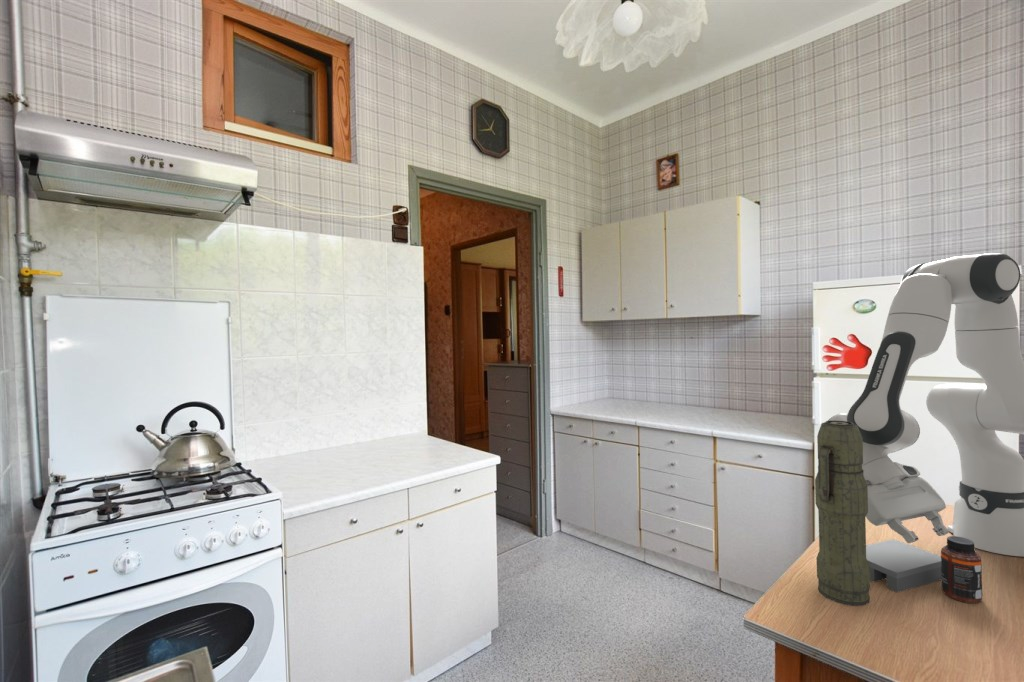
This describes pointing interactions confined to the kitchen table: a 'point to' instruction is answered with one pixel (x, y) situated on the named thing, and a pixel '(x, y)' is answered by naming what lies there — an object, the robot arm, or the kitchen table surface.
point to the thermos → (842, 515)
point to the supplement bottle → (961, 570)
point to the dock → (902, 565)
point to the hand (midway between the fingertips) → (929, 538)
